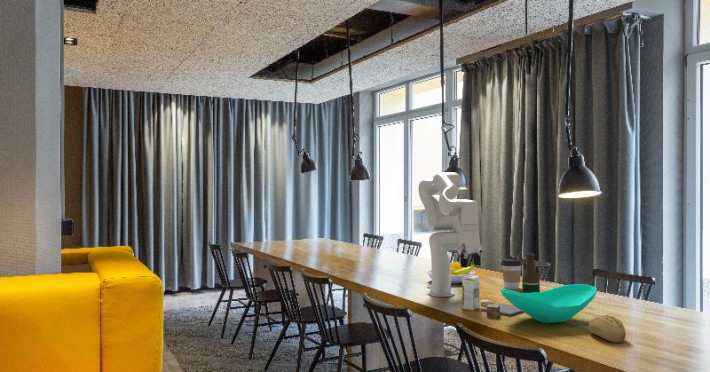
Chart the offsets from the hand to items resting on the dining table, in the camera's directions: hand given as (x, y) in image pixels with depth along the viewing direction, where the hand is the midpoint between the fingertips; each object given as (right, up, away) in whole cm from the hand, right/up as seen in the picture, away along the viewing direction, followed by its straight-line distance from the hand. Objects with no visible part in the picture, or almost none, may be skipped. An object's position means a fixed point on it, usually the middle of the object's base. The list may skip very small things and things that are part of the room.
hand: (470, 266), depth 250 cm
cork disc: (+9, -19, +7) cm, 22 cm away
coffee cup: (+32, -19, +46) cm, 59 cm away
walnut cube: (+7, -19, -14) cm, 25 cm away
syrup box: (0, -19, 0) cm, 19 cm away
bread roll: (+39, -19, -49) cm, 66 cm away
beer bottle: (+28, -19, +3) cm, 34 cm away
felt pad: (+14, -19, -4) cm, 24 cm away
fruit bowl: (+3, -19, +67) cm, 69 cm away
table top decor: (+27, -19, -24) cm, 41 cm away
